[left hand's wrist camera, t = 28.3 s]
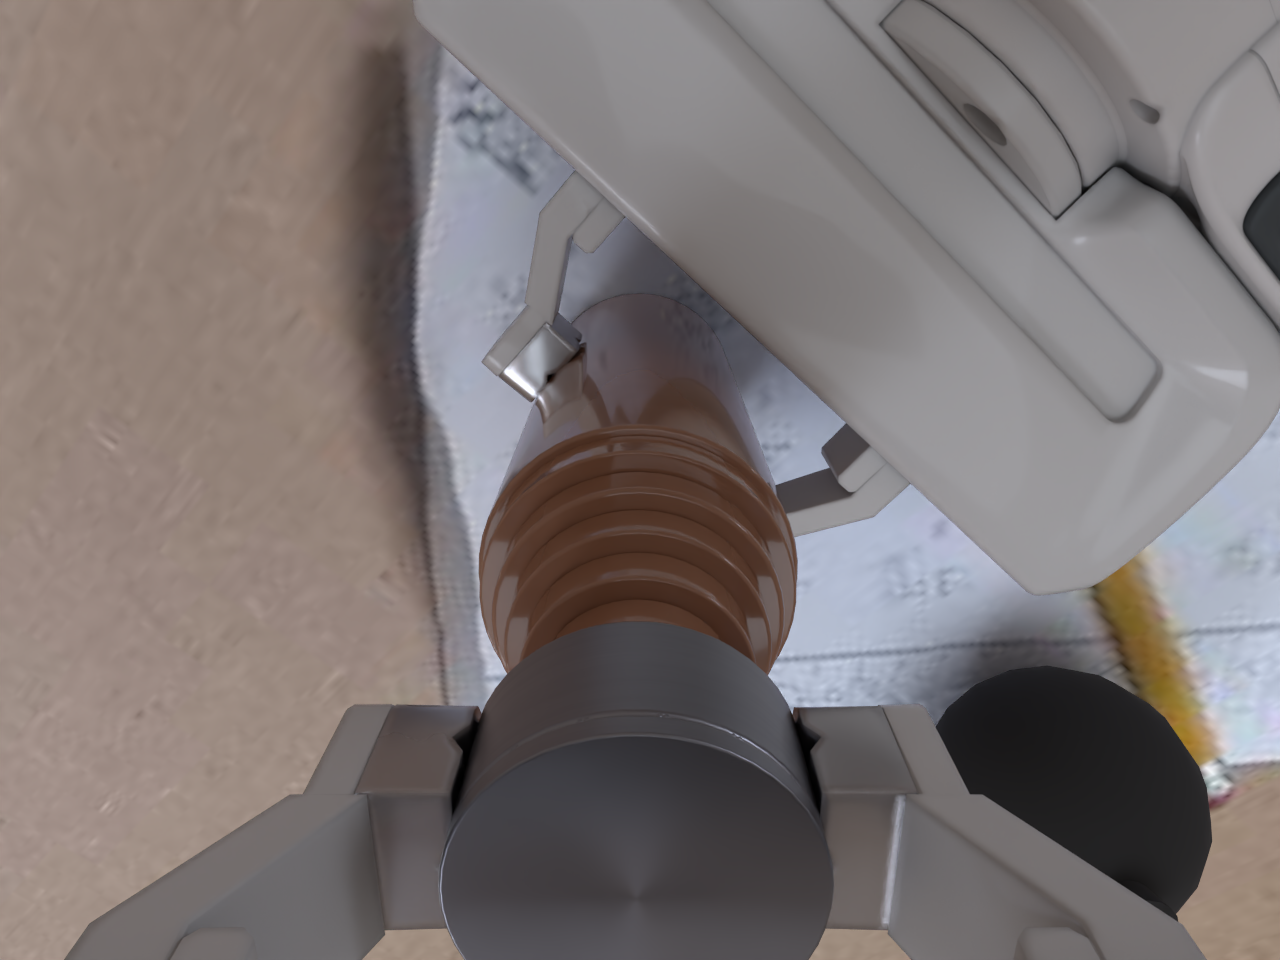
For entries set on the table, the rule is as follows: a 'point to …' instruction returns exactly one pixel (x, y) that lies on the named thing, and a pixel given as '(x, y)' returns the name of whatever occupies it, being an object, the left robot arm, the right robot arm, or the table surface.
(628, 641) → the cap
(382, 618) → the table surface
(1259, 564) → the table surface
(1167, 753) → the bomb
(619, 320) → the bottle
